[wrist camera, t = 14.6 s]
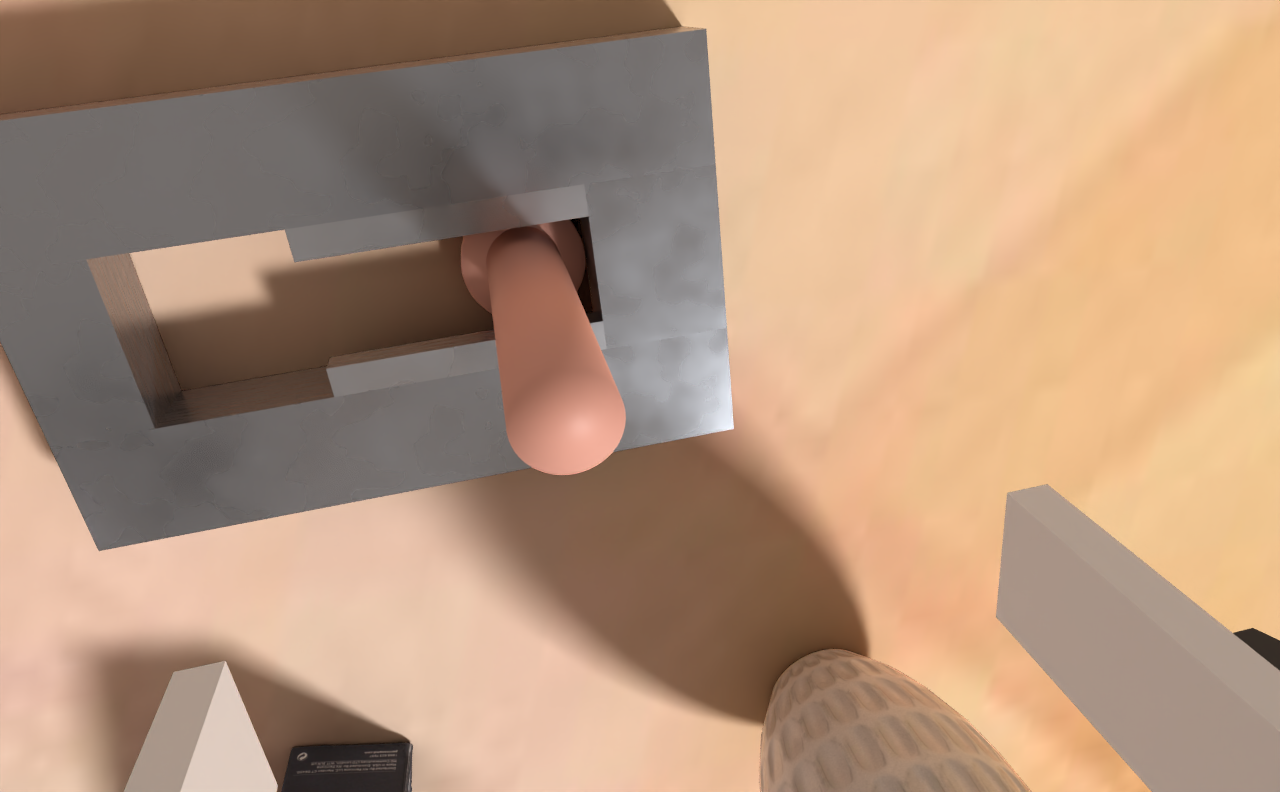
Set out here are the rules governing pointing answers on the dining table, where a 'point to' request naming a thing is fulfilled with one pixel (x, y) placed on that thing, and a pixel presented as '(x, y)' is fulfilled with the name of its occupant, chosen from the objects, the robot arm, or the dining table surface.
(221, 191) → the grey slotted plate
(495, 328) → the stud
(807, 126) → the dining table surface
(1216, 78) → the dining table surface
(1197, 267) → the dining table surface
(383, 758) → the small box
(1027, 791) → the vase
